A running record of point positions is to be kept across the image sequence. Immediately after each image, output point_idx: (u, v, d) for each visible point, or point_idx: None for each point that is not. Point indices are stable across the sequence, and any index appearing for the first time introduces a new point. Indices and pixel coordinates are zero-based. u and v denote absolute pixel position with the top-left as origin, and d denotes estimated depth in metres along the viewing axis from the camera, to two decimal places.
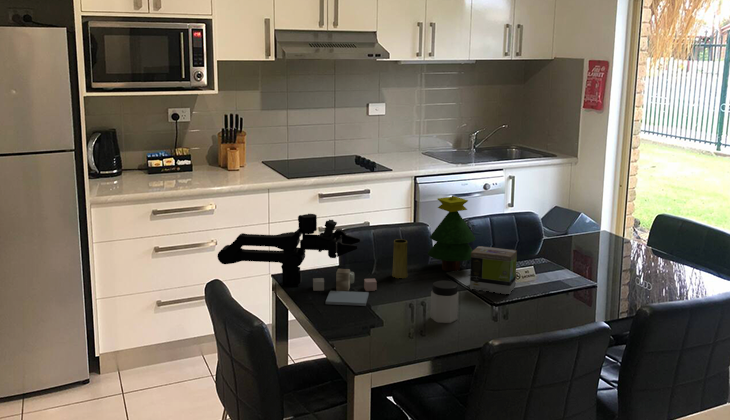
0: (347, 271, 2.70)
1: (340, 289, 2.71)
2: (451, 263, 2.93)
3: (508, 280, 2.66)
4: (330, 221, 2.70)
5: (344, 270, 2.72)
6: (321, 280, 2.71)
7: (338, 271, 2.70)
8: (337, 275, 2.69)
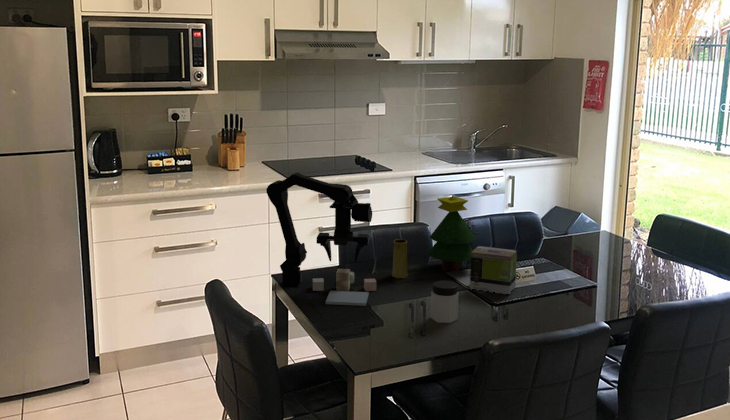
0: (347, 271, 2.70)
1: (340, 289, 2.71)
2: (451, 263, 2.93)
3: (508, 280, 2.66)
4: (339, 240, 2.60)
5: (344, 270, 2.71)
6: (320, 281, 2.71)
7: (338, 271, 2.70)
8: (337, 275, 2.69)
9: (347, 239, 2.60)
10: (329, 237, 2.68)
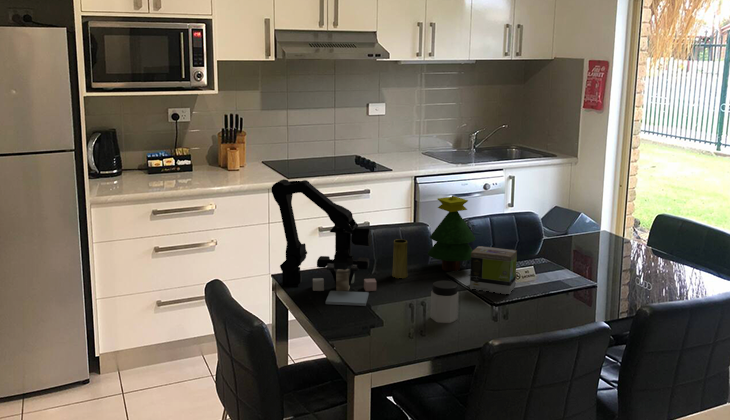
0: (347, 271, 2.70)
1: (340, 289, 2.71)
2: (451, 263, 2.93)
3: (508, 280, 2.66)
4: (339, 264, 2.62)
5: (344, 270, 2.71)
6: (320, 281, 2.71)
7: (338, 271, 2.70)
8: (337, 275, 2.69)
9: (347, 263, 2.62)
10: (329, 261, 2.70)
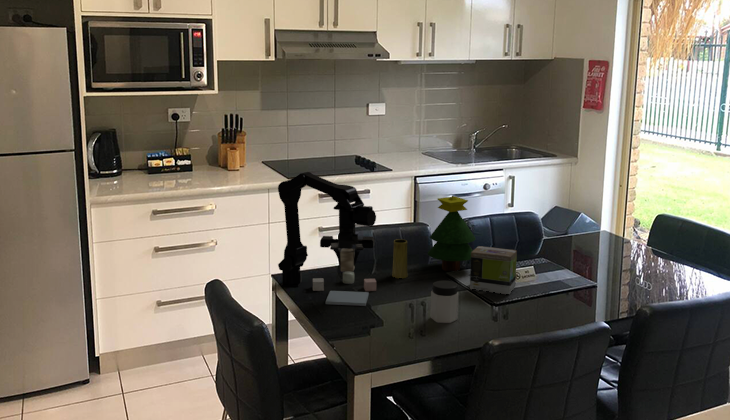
0: (352, 251, 2.60)
1: (345, 269, 2.60)
2: (451, 263, 2.93)
3: (508, 280, 2.66)
4: (343, 243, 2.51)
5: (348, 250, 2.61)
6: (320, 281, 2.71)
7: (342, 251, 2.59)
8: (341, 255, 2.58)
9: (352, 242, 2.51)
10: (333, 240, 2.59)
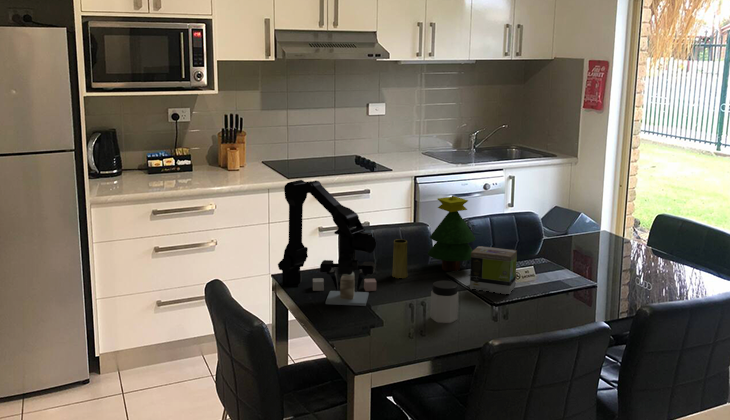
0: (351, 278, 2.59)
1: (344, 297, 2.59)
2: (451, 263, 2.93)
3: (508, 280, 2.66)
4: (343, 269, 2.51)
5: (348, 277, 2.60)
6: (320, 281, 2.71)
7: (342, 278, 2.59)
8: (341, 282, 2.58)
9: (352, 268, 2.50)
10: (333, 265, 2.59)
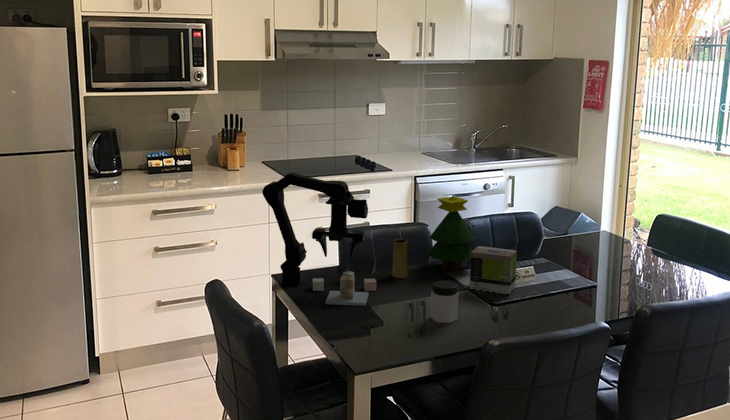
0: (351, 278, 2.59)
1: (344, 297, 2.59)
2: (451, 263, 2.93)
3: (508, 280, 2.66)
4: (333, 236, 2.61)
5: (348, 277, 2.60)
6: (320, 281, 2.71)
7: (342, 278, 2.59)
8: (341, 282, 2.58)
9: (342, 235, 2.60)
10: (325, 233, 2.69)
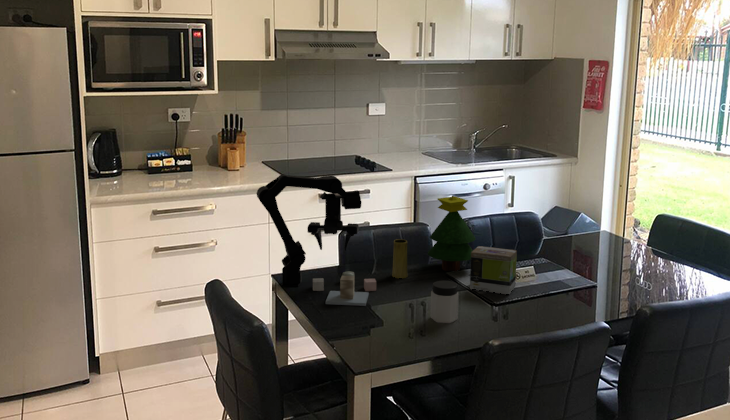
0: (351, 278, 2.59)
1: (344, 297, 2.59)
2: (451, 263, 2.93)
3: (508, 280, 2.66)
4: (329, 229, 2.69)
5: (348, 277, 2.60)
6: (320, 281, 2.71)
7: (342, 278, 2.59)
8: (341, 282, 2.58)
9: (337, 228, 2.69)
10: (320, 226, 2.77)
